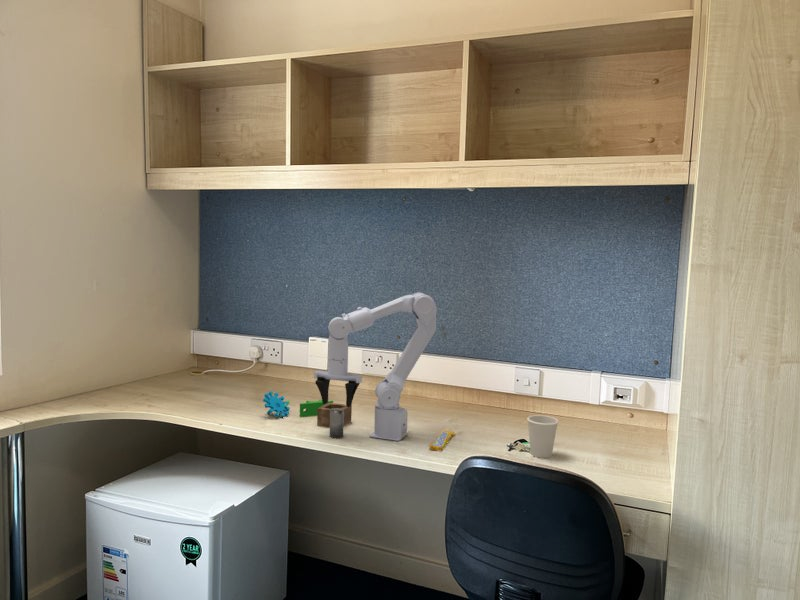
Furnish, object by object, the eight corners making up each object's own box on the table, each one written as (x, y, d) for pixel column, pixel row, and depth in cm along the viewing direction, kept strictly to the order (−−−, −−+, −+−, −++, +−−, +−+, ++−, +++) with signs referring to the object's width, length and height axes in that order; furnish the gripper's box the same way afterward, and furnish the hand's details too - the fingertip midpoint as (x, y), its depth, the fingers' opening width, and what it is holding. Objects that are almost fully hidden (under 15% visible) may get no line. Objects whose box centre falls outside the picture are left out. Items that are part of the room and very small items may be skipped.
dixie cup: (526, 458, 163) (528, 422, 162) (524, 448, 171) (526, 414, 171) (558, 461, 162) (560, 424, 161) (555, 451, 170) (556, 416, 169)
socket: (351, 422, 192) (351, 405, 192) (340, 429, 185) (340, 411, 184) (328, 419, 195) (328, 402, 194) (317, 425, 187) (317, 408, 187)
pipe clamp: (329, 411, 205) (329, 398, 204) (333, 414, 201) (333, 401, 201) (297, 414, 200) (297, 401, 199) (300, 417, 196) (300, 403, 196)
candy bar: (442, 453, 166) (442, 447, 166) (427, 451, 168) (428, 445, 167) (455, 436, 182) (455, 430, 182) (441, 434, 184) (442, 428, 183)
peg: (345, 435, 179) (346, 408, 178) (339, 439, 175) (340, 412, 174) (333, 433, 180) (333, 407, 179) (327, 437, 176) (327, 410, 176)
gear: (273, 416, 190) (260, 390, 195) (262, 427, 193) (250, 401, 197) (298, 414, 200) (285, 389, 204) (287, 424, 202) (275, 399, 206)
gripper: (366, 358, 177) (365, 404, 178) (322, 354, 182) (321, 398, 183) (356, 362, 170) (355, 410, 171) (310, 358, 175) (309, 404, 176)
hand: (337, 404), depth 177 cm, fingers open, 7 cm apart
